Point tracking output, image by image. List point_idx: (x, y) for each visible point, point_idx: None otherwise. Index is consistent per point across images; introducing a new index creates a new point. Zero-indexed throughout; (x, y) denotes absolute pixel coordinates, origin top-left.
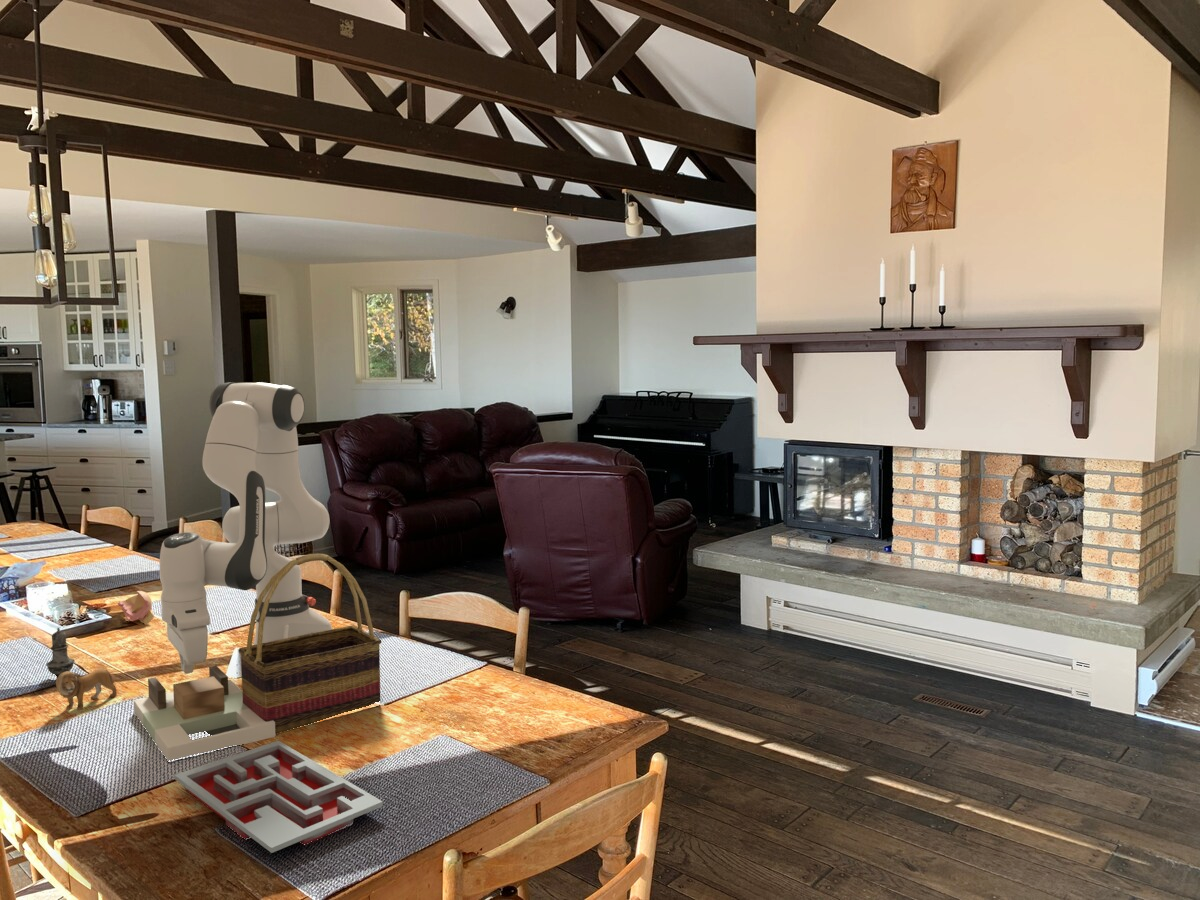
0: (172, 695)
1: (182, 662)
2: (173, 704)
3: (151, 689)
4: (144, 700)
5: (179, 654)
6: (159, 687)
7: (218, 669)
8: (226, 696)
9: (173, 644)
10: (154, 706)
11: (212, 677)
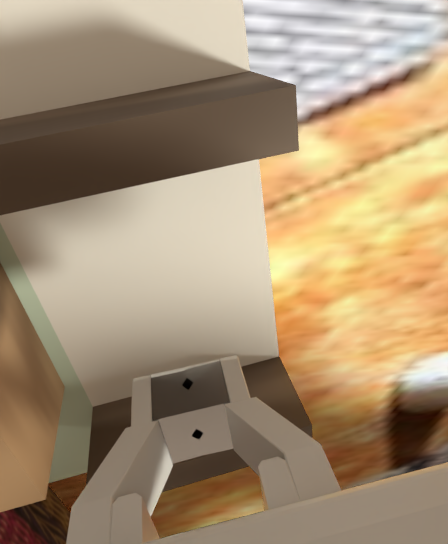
0: (203, 209)
1: (227, 412)
2: (37, 216)
3: (163, 101)
4: (188, 36)
5: (283, 453)
6: (1, 181)
7: (242, 463)
8: (79, 423)
9: (422, 508)
10: (30, 102)
11: (21, 499)
